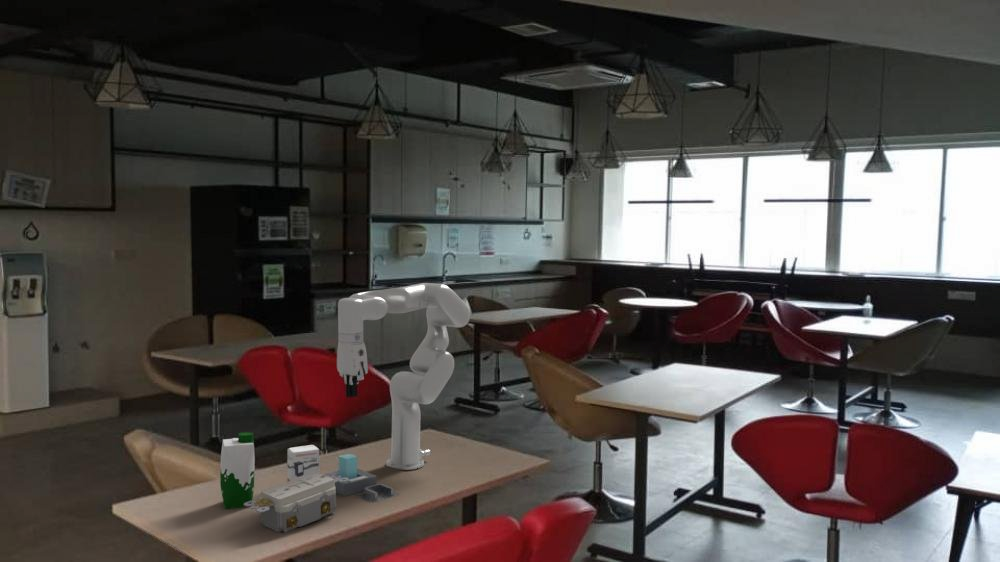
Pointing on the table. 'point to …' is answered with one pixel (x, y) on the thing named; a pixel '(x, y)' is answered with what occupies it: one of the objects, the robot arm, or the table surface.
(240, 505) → the milk carton
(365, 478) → the port
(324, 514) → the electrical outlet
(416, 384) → the robot arm
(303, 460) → the ink box
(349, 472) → the plug
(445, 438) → the table surface
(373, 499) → the holster
